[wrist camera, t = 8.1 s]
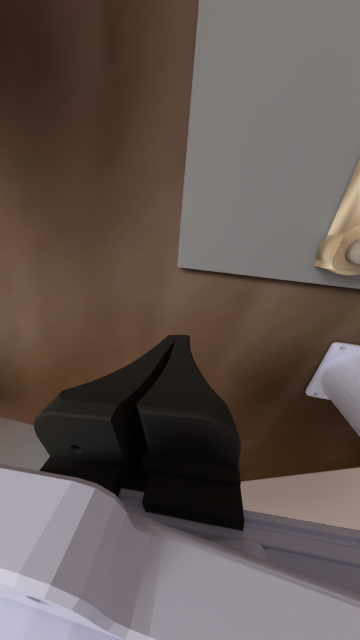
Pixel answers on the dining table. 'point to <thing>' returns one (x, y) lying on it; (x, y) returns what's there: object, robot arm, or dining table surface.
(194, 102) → the base plate
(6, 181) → the dining table surface
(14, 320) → the dining table surface
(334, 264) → the link
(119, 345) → the dining table surface
